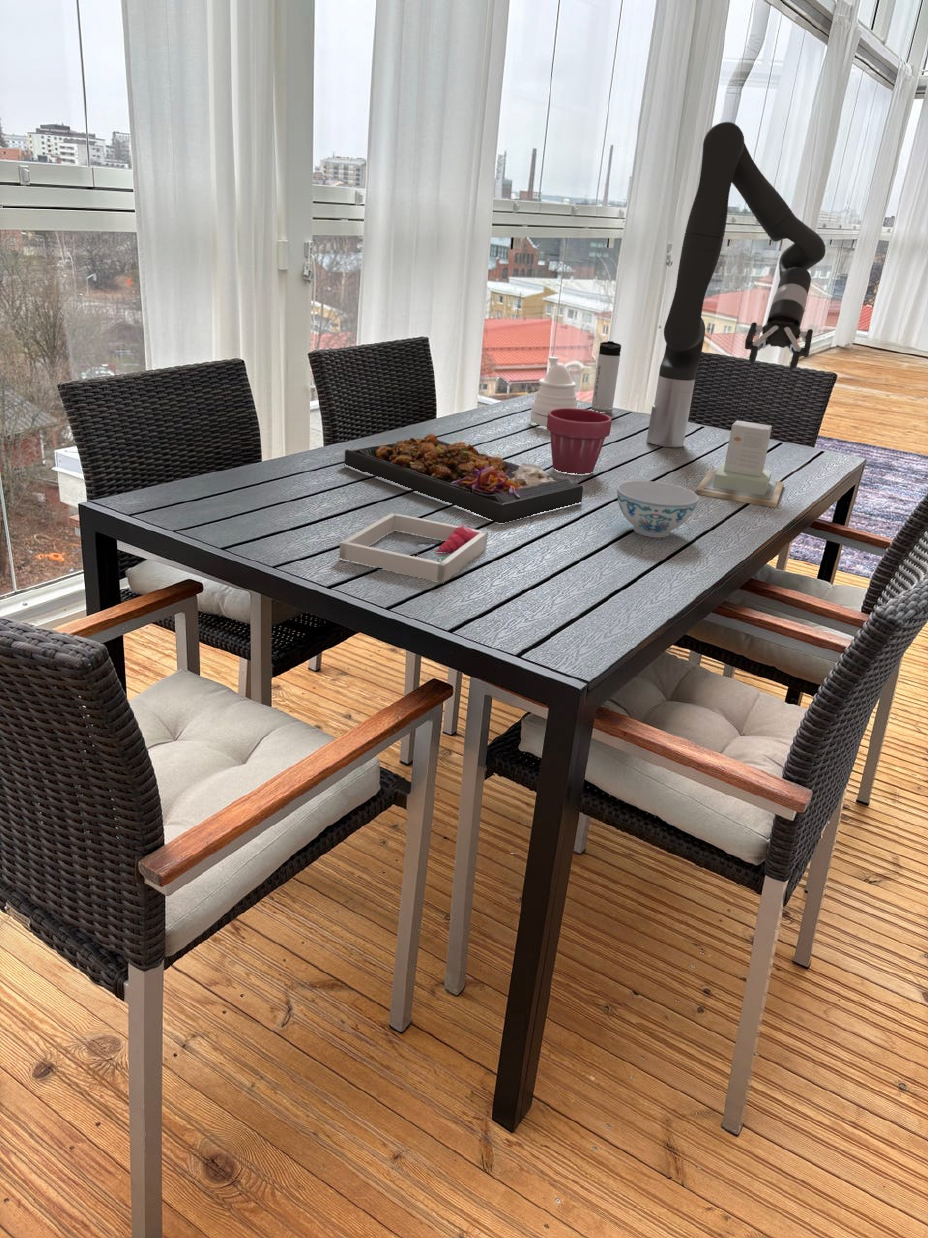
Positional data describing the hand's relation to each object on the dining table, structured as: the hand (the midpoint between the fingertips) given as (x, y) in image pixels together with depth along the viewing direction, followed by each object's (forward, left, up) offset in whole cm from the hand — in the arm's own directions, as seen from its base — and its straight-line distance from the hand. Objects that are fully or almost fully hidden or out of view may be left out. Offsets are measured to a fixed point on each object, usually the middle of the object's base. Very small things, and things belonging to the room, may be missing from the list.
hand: (771, 365), depth 215 cm
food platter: (-53, -51, -27) cm, 79 cm away
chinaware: (-12, -58, -26) cm, 64 cm away
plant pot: (-37, -24, -26) cm, 51 cm away
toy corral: (-44, -95, -26) cm, 107 cm away
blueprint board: (0, -15, -26) cm, 30 cm away
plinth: (0, -15, -26) cm, 30 cm away
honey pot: (-55, +20, -26) cm, 64 cm away
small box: (-1, -14, -22) cm, 26 cm away
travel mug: (-49, +50, -26) cm, 75 cm away
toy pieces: (-41, -92, -26) cm, 104 cm away
